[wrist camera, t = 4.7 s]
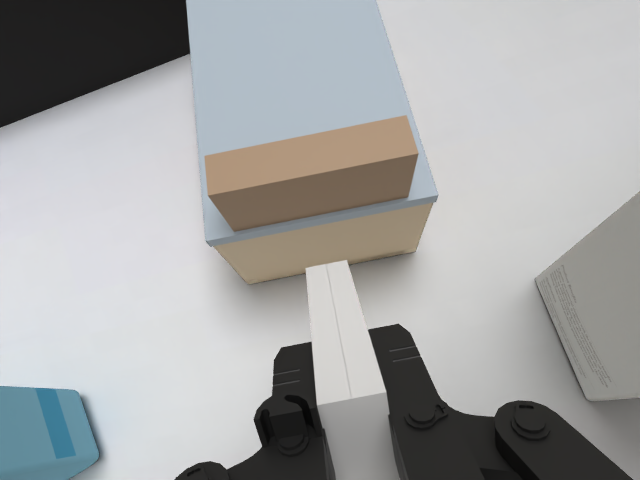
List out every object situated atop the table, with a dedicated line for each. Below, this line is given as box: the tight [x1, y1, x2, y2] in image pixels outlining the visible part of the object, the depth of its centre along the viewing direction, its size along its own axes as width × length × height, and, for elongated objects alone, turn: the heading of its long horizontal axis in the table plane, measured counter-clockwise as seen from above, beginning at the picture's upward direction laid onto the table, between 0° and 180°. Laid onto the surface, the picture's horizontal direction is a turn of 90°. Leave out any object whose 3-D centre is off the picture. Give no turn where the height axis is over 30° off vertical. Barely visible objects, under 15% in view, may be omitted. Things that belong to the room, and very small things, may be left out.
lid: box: [186, 0, 438, 247], centre depth 24 cm, size 20×12×5 cm, turn 10°
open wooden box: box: [213, 203, 433, 284], centre depth 30 cm, size 20×12×8 cm, turn 10°
